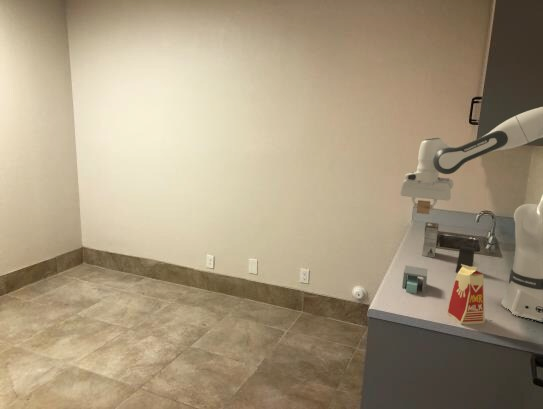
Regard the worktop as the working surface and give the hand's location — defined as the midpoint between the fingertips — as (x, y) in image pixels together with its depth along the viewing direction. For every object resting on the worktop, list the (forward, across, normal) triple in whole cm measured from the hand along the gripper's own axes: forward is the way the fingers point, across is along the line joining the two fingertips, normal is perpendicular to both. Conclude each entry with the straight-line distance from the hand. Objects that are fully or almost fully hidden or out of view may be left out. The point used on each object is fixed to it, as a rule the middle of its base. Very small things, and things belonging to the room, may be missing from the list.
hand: (423, 208), depth 170 cm
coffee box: (+31, -5, -35) cm, 47 cm away
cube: (+2, 0, 0) cm, 2 cm away
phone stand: (+31, -21, -17) cm, 41 cm away
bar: (+32, +1, +11) cm, 33 cm away
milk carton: (+31, -18, +33) cm, 49 cm away
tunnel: (+31, 0, +12) cm, 33 cm away
